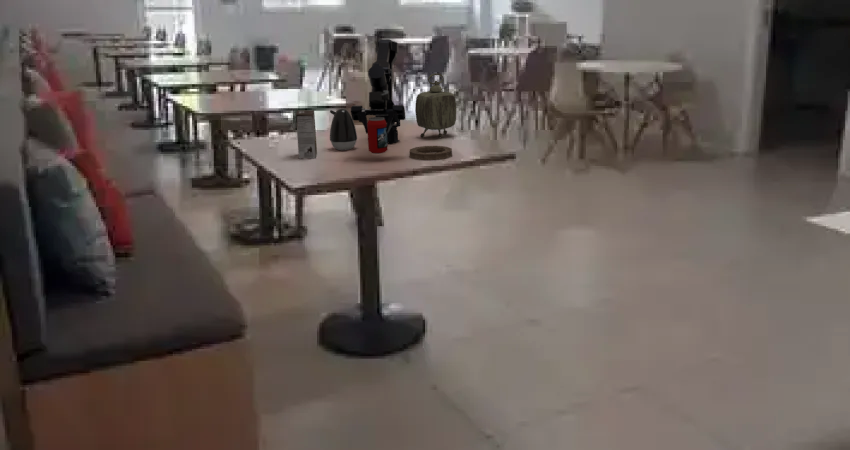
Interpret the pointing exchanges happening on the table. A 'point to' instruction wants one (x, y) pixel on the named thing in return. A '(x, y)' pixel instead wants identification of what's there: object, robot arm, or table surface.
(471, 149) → the table surface
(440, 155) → the walnut ring
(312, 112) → the coffee box
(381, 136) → the beverage can
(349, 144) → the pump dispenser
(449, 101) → the tabletop clock
